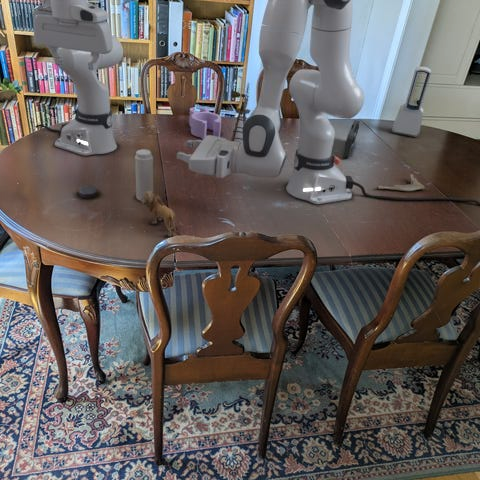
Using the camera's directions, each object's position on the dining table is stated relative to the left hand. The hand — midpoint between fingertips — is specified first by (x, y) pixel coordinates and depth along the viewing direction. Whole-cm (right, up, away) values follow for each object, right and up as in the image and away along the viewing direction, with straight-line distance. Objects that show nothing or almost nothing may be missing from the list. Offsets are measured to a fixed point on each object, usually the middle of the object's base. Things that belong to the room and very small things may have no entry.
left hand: (75, 67), depth 124 cm
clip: (+28, +1, +77) cm, 82 cm away
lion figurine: (+21, -42, +9) cm, 48 cm away
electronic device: (+122, +5, +98) cm, 157 cm away
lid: (-3, -31, +20) cm, 37 cm away
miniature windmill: (+42, -18, +50) cm, 68 cm away
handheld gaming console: (+90, -8, +73) cm, 116 cm away
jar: (+14, -33, +22) cm, 42 cm away
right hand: (+27, -20, +12) cm, 35 cm away
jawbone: (+101, -26, +48) cm, 115 cm away
